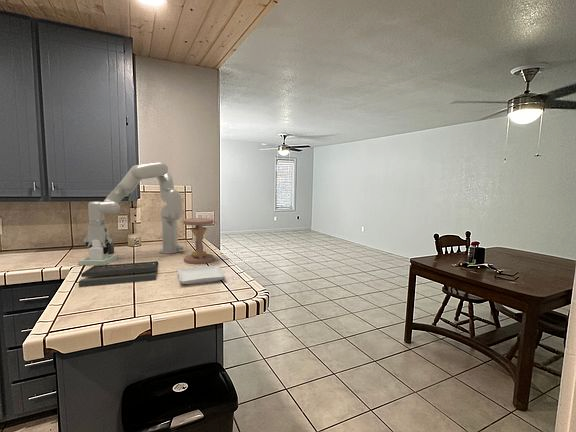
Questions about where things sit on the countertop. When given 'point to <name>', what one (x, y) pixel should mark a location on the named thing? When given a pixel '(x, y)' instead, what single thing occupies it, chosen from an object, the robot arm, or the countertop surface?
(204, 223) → the hourglass
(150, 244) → the countertop surface
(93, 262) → the pale green square tray
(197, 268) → the grey flat square slab
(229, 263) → the countertop surface
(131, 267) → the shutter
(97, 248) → the medicine bottle
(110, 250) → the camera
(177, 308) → the countertop surface
